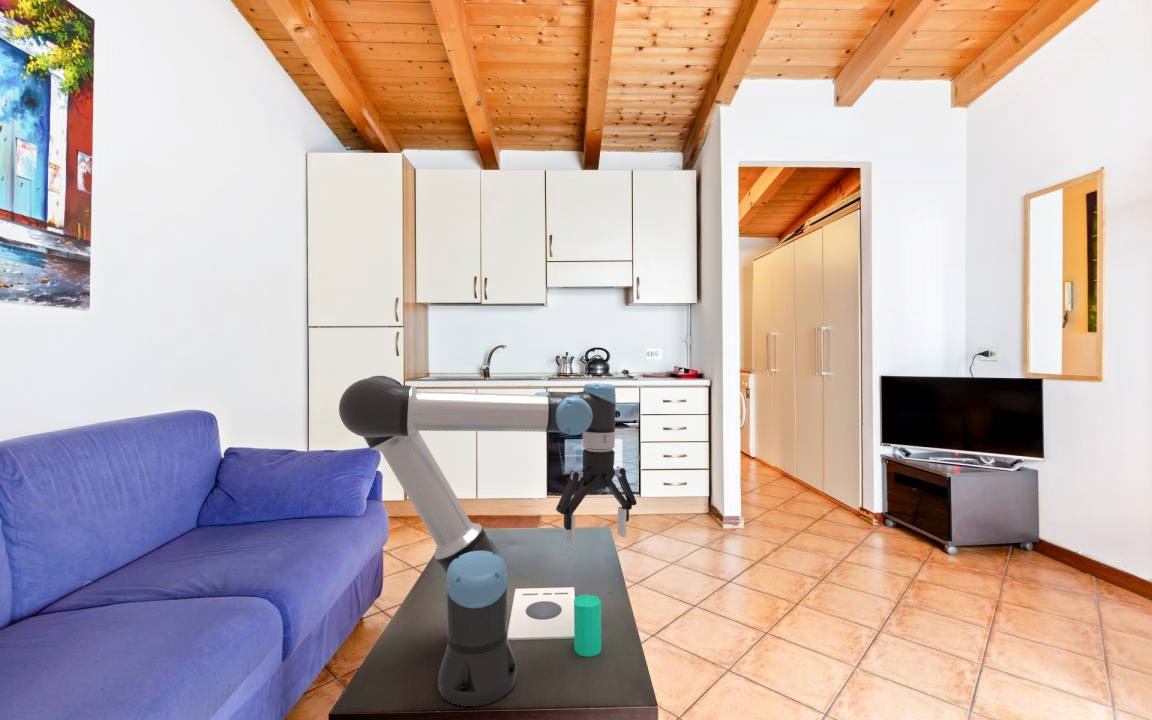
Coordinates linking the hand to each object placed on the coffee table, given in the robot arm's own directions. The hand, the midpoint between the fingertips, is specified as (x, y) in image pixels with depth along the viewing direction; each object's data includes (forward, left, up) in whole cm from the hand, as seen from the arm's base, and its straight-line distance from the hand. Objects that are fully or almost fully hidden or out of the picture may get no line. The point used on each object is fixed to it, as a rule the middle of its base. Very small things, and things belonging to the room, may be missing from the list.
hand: (596, 539), depth 118 cm
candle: (-7, -6, -21) cm, 23 cm away
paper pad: (-7, +13, -21) cm, 25 cm away
